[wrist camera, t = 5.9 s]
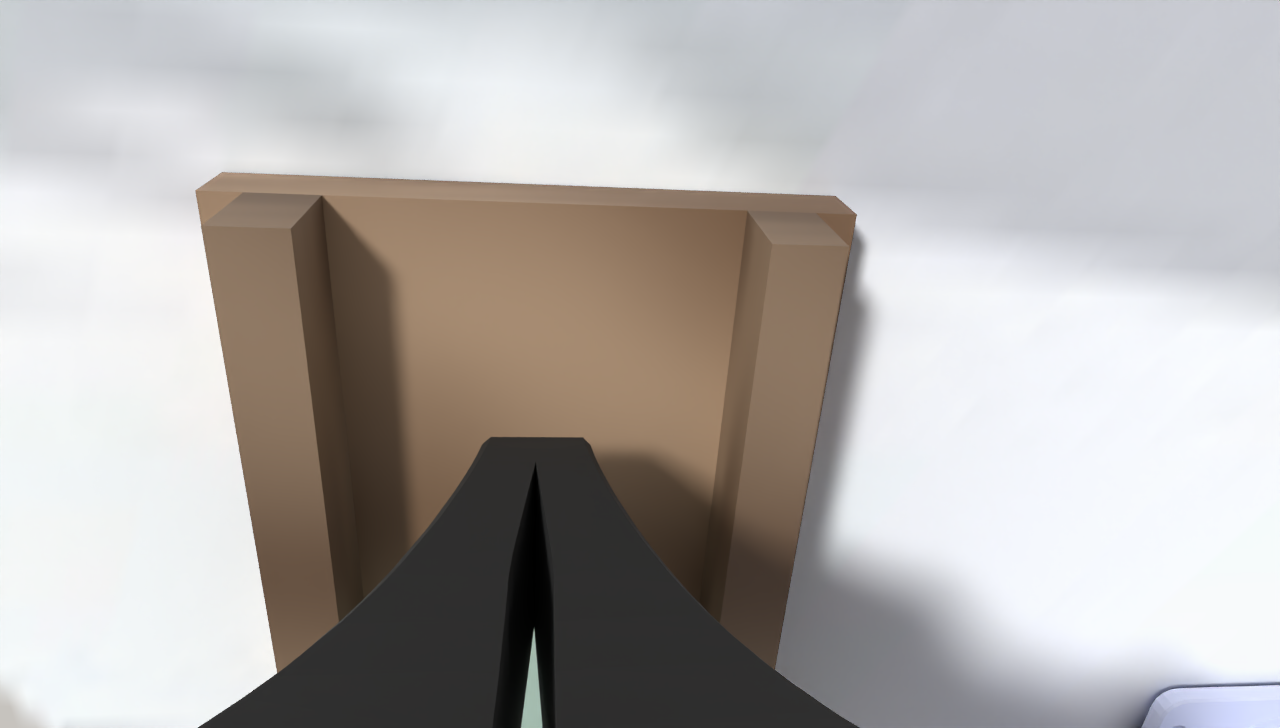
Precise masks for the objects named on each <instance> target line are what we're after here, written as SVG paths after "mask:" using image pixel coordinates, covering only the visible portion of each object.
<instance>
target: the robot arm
mask: <svg viewBox="0 0 1280 728" xmlns="http://www.w3.org/2000/svg"><path fill="white" fill-rule="evenodd" d="M534 631H535V644H536V656H537V668H538V680H539V692H540V704H541V716H542V728H859V727H858V726H856V725H854V724H852V723H851V722H849V721H847V720H846V719H844V718H842V717H841V716H839V715H838V714H836V713H835V712H833V711H831V710H830V709H829V708H827V707H826V706H824V705H823V704H821V703H820V702H818V701H817V700H816V699H814V698H813V697H811V696H810V695H808V694H807V693H806V692H804V691H803V690H801V689H800V688H798V687H797V686H795V685H794V684H793V683H791V682H790V681H788V680H787V679H786V678H784V677H783V676H782V675H781V674H779V673H778V672H777V671H775V670H774V669H773V668H772V667H770V666H769V665H768V664H767V663H765V662H764V661H763V660H762V659H761V658H759V657H758V656H757V655H756V654H755V653H753V652H752V651H751V650H750V649H748V648H747V647H746V646H745V645H744V644H742V643H741V642H740V641H739V640H738V639H736V638H735V637H734V636H733V635H732V634H731V633H730V632H728V631H727V630H726V629H725V628H724V627H723V626H722V625H721V624H720V623H719V622H718V621H717V620H716V619H715V618H714V617H713V616H711V614H710V613H709V612H708V611H707V610H706V609H705V608H704V607H703V606H702V605H701V604H700V603H699V602H698V601H697V600H696V599H695V598H694V597H693V596H692V595H691V594H690V593H689V592H688V591H687V589H686V588H685V587H684V586H683V585H682V584H681V583H680V582H679V580H678V579H677V578H676V577H675V576H674V575H673V573H672V572H671V571H670V570H669V569H668V567H667V566H666V565H665V564H664V562H663V561H662V560H661V559H660V557H659V556H658V555H657V554H656V552H655V551H654V550H653V549H652V547H651V546H650V545H649V543H648V542H647V541H646V539H645V538H644V537H643V535H642V534H641V532H640V531H639V530H638V528H637V527H636V525H635V524H634V522H633V521H632V519H631V518H630V516H629V515H628V513H627V512H626V510H625V509H624V507H623V506H622V504H621V503H620V501H619V500H618V498H617V496H616V495H615V493H614V491H613V490H612V488H611V486H610V484H609V483H608V481H607V479H606V477H605V476H604V474H603V472H602V470H601V468H600V466H599V464H598V462H597V460H596V457H595V455H594V453H593V450H592V448H591V445H590V444H589V443H588V442H587V441H586V440H585V439H584V438H583V437H490V438H489V439H488V440H487V441H485V442H484V443H483V444H482V446H481V448H480V450H479V452H478V454H477V456H476V458H475V459H474V461H473V463H472V465H471V466H470V468H469V470H468V471H467V473H466V474H465V476H464V478H463V479H462V481H461V482H460V484H459V485H458V487H457V488H456V490H455V491H454V493H453V494H452V495H451V497H450V498H449V500H448V501H447V502H446V504H445V505H444V506H443V508H442V509H441V510H440V512H439V513H438V515H437V516H436V517H435V519H434V520H433V521H432V523H431V524H430V525H429V527H428V528H427V529H426V530H425V532H424V533H423V534H422V535H421V536H420V537H419V539H418V540H417V541H416V542H415V543H414V545H413V546H412V547H411V548H410V549H409V550H408V552H407V553H406V554H405V555H404V556H403V557H402V559H401V560H400V561H399V562H398V563H397V564H396V566H395V567H394V568H393V569H392V570H391V571H390V572H389V573H388V574H387V575H386V576H385V578H384V579H383V580H382V581H381V582H380V583H379V584H378V585H377V586H376V587H375V588H374V589H373V590H372V591H371V592H370V593H369V594H368V595H367V596H366V597H365V598H364V599H363V600H362V601H361V602H360V603H359V604H358V605H357V606H356V607H355V608H354V609H352V610H351V611H350V612H349V613H348V614H347V615H346V616H345V617H344V618H343V619H342V620H341V621H340V622H339V623H337V624H336V625H335V626H334V627H333V628H332V629H330V630H329V631H328V632H327V633H326V634H325V635H323V636H322V637H321V638H320V639H319V640H318V641H316V642H315V643H314V644H313V645H312V646H311V647H309V648H308V649H307V650H306V651H305V652H303V653H302V654H301V655H300V656H299V657H297V658H296V659H295V660H294V661H292V662H291V663H290V664H289V665H287V666H286V667H285V668H284V669H282V670H281V671H280V672H278V673H277V674H276V675H274V676H273V677H272V678H270V679H269V680H267V681H266V682H265V683H263V684H262V685H260V686H259V687H258V688H256V689H255V690H253V691H252V692H250V693H249V694H248V695H246V696H245V697H243V698H242V699H241V700H239V701H238V702H236V703H235V704H233V705H231V706H230V707H228V708H227V709H225V710H224V711H222V712H221V713H219V714H218V715H216V716H215V717H213V718H212V719H210V720H209V721H207V722H206V723H204V724H203V725H201V726H200V727H198V728H521V724H522V717H523V709H524V701H525V694H526V686H527V679H528V671H529V663H530V655H531V648H532V640H533V632H534ZM1141 728H1280V685H1267V686H1235V687H1202V688H1177V689H1171V690H1168V691H1166V692H1164V693H1162V694H1161V695H1160V696H1158V697H1157V698H1156V699H1155V701H1154V702H1153V703H1152V706H1151V708H1150V710H1149V712H1148V714H1147V716H1146V719H1145V721H1144V723H1143V725H1142V727H1141Z"/></svg>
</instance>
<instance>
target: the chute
mask: <svg viewBox="0 0 1280 728" xmlns="http://www.w3.org/2000/svg"><path fill="white" fill-rule="evenodd" d="M195 191H196V197H197V203H198V209H199V214H200V220H201V228H202V234H203V240H204V246H205V252H206V258H207V263H208V269H209V275H210V281H211V287H212V293H213V299H214V304H215V310H216V316H217V322H218V328H219V334H220V340H221V346H222V351H223V357H224V363H225V369H226V375H227V381H228V387H229V392H230V398H231V404H232V410H233V416H234V422H235V428H236V433H237V439H238V445H239V451H240V457H241V463H242V469H243V475H244V480H245V486H246V492H247V498H248V504H249V510H250V516H251V521H252V527H253V533H254V539H255V545H256V551H257V557H258V562H259V568H260V574H261V580H262V586H263V592H264V598H265V604H266V609H267V615H268V621H269V627H270V633H271V639H272V645H273V650H274V656H275V662H276V668H277V673H278V672H280V671H281V670H282V669H284V668H285V667H286V666H287V665H289V664H290V663H291V662H292V661H294V660H295V659H296V658H297V657H299V656H300V655H301V654H302V653H303V652H305V651H306V650H307V649H308V648H309V647H311V646H312V645H313V644H314V643H315V642H316V641H318V640H319V639H320V638H321V637H322V636H323V635H325V634H326V633H327V632H328V631H329V630H330V629H332V628H333V627H334V626H335V625H336V624H337V623H339V622H340V621H341V620H342V619H343V618H344V617H345V616H346V615H347V614H348V613H349V612H350V611H351V610H352V609H354V608H355V607H356V606H357V605H358V604H359V603H360V602H361V601H362V600H363V599H364V598H365V597H366V596H367V595H368V594H369V593H370V592H371V591H372V590H373V589H374V588H375V587H376V586H377V585H378V584H379V583H380V582H381V581H382V580H383V579H384V578H385V576H386V575H387V574H388V573H389V572H390V571H391V570H392V569H393V568H394V567H395V566H396V564H397V563H398V562H399V561H400V560H401V559H402V557H403V556H404V555H405V554H406V553H407V552H408V550H409V549H410V548H411V547H412V546H413V545H414V543H415V542H416V541H417V540H418V539H419V537H420V536H421V535H422V534H423V533H424V532H425V530H426V529H427V528H428V527H429V525H430V524H431V523H432V521H433V520H434V519H435V517H436V516H437V515H438V513H439V512H440V510H441V509H442V508H443V506H444V505H445V504H446V502H447V501H448V500H449V498H450V497H451V495H452V494H453V493H454V491H455V490H456V488H457V487H458V485H459V484H460V482H461V481H462V479H463V478H464V476H465V474H466V473H467V471H468V470H469V468H470V466H471V465H472V463H473V461H474V459H475V458H476V456H477V454H478V452H479V450H480V448H481V446H482V444H483V443H484V442H485V441H487V440H488V439H489V438H490V437H583V438H584V439H585V440H586V441H587V442H588V443H589V444H590V445H591V448H592V450H593V453H594V455H595V457H596V460H597V462H598V464H599V466H600V468H601V470H602V472H603V474H604V476H605V477H606V479H607V481H608V483H609V484H610V486H611V488H612V490H613V491H614V493H615V495H616V496H617V498H618V500H619V501H620V503H621V504H622V506H623V507H624V509H625V510H626V512H627V513H628V515H629V516H630V518H631V519H632V521H633V522H634V524H635V525H636V527H637V528H638V530H639V531H640V532H641V534H642V535H643V537H644V538H645V539H646V541H647V542H648V543H649V545H650V546H651V547H652V549H653V550H654V551H655V552H656V554H657V555H658V556H659V557H660V559H661V560H662V561H663V562H664V564H665V565H666V566H667V567H668V569H669V570H670V571H671V572H672V573H673V575H674V576H675V577H676V578H677V579H678V580H679V582H680V583H681V584H682V585H683V586H684V587H685V588H686V589H687V591H688V592H689V593H690V594H691V595H692V596H693V597H694V598H695V599H696V600H697V601H698V602H699V603H700V604H701V605H702V606H703V607H704V608H705V609H706V610H707V611H708V612H709V613H710V614H711V616H713V617H714V618H715V619H716V620H717V621H718V622H719V623H720V624H721V625H722V626H723V627H724V628H725V629H726V630H727V631H728V632H730V633H731V634H732V635H733V636H734V637H735V638H736V639H738V640H739V641H740V642H741V643H742V644H744V645H745V646H746V647H747V648H748V649H750V650H751V651H752V652H753V653H755V654H756V655H757V656H758V657H759V658H761V659H762V660H763V661H764V662H765V663H767V664H768V665H769V666H770V667H772V668H773V669H774V670H775V665H776V659H777V654H778V648H779V642H780V637H781V631H782V626H783V620H784V615H785V609H786V604H787V598H788V593H789V587H790V581H791V576H792V570H793V565H794V559H795V554H796V548H797V543H798V537H799V532H800V526H801V520H802V515H803V509H804V504H805V498H806V493H807V487H808V482H809V476H810V471H811V465H812V460H813V454H814V448H815V443H816V437H817V432H818V426H819V421H820V415H821V410H822V404H823V399H824V393H825V387H826V382H827V376H828V371H829V365H830V360H831V354H832V349H833V343H834V338H835V332H836V326H837V321H838V315H839V310H840V304H841V299H842V293H843V288H844V282H845V277H846V271H847V265H848V260H849V254H850V249H851V243H852V238H853V232H854V227H855V221H856V216H857V214H855V213H854V212H853V211H852V210H851V209H850V208H849V207H847V206H846V205H845V204H844V203H843V202H842V201H841V200H839V199H838V198H837V197H836V196H819V195H793V194H767V193H741V192H716V191H690V190H664V189H638V188H612V187H587V186H561V185H535V184H509V183H484V182H458V181H432V180H406V179H380V178H355V177H329V176H303V175H277V174H251V173H226V172H222V173H220V174H219V175H217V176H216V177H215V178H213V179H212V180H210V181H209V182H207V183H206V184H204V185H203V186H201V187H200V188H198V189H197V190H195Z"/></svg>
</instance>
